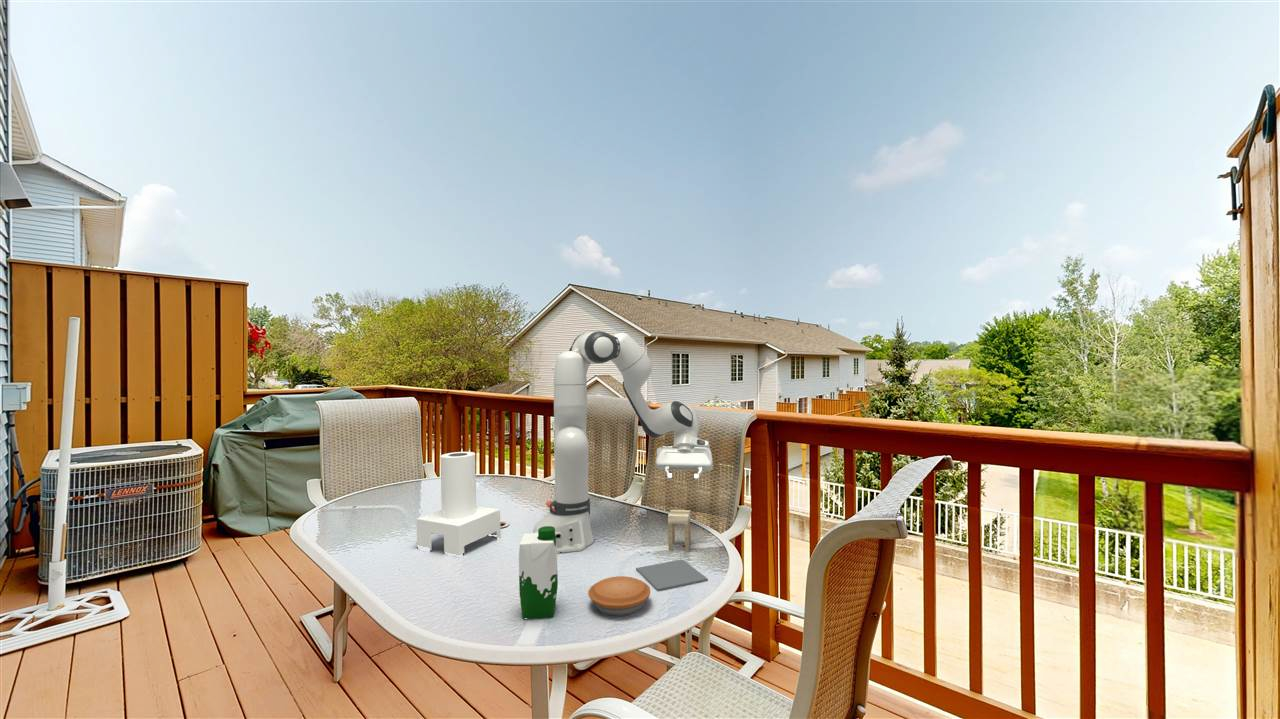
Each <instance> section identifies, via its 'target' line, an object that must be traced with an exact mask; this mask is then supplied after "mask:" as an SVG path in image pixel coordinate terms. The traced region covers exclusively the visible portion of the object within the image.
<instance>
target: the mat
mask: <svg viewBox="0 0 1280 719" xmlns="http://www.w3.org/2000/svg"><path fill="white" fill-rule="evenodd" d="M635 570H636V572H637V573H638V574H639V575H640V576H641V577H642V578H644V579H645V581H646V582H647V583H649V585H651V586H652V587H653V588H654V590H656V592H660V591H661V592H662V591H667V590H672V589H675V588H679V587H686V586H689V585H696V584H699V583H705V582H708V580H709V578H708V577H706V576H705V575H704V574H703V573H701V572H700V571H699V570H697V569H696V568H695V567H693V566H692V565H691V564H689V563H688V562H687V561H686V560H684V559H676V560H672V561H665V562H661V563H654V564H650V565H645V566H640V567H639V566H638V567H636V568H635Z"/></svg>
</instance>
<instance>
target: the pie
mask: <svg viewBox="0 0 1280 719" xmlns="http://www.w3.org/2000/svg"><path fill="white" fill-rule="evenodd" d="M587 596H588V597H589V599H590V600H591V601H592V602H593V604H594V606H595V607H596V609H597V610H598V611H599V612H601V613H602V614H604V615H607V616H613V617H621V616H628V615H632V614H635V613H636V612H638V611H640V610H641V608H642V607H643V605H644V604H645V603H646V600H647V599H648V598H649V597H650V596H651V587H650V585H648V584H647V583H646V582H644V581H643V580H641V579H638V578H635V577H632V576H625V575H624V576H622V575H620V576H617V575H616V576H612V577H611V576H610V577H607V578H604V579H601V580H599V581H597V582H595V583H594V584H593V585H591V587H590V588H588V591H587Z"/></svg>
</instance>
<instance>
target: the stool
mask: <svg viewBox="0 0 1280 719" xmlns="http://www.w3.org/2000/svg"><path fill="white" fill-rule="evenodd" d="M669 510H670V511H669V513H668V515H667V527H668V528H667V531H668V532H667V534H668V535H667V536H668V537H667V538H668V551H673V550H674V545H673V544H676V530H675V529H676V525H684V552H690V546H691V544H692V542H691V541H692V540H691V539H692V538H691V537H692V536H691V535H692V534H691V532H692V530H691V510H685V509H669Z"/></svg>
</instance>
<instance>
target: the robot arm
mask: <svg viewBox="0 0 1280 719" xmlns="http://www.w3.org/2000/svg"><path fill="white" fill-rule="evenodd" d="M609 361H611V362H612V363H613V364H614V365H615V366H616V368H617V369H618V371H619V373H620V374H621V376H622V379H623V381H622V384H621V385H622V389H623V392H624V394H625V395H626V398H627V400H628V402H629V403H630V405H631V407H632V409H633V410H634V412H635V414H636V417H637V418H638V419H639V422H640V425H641V428H642V430H643V432H644V433H645V434H646V435H648V437H650V438H653V439H657V438H659V437H662V436H663V435H665V434H667V433H670V432H672V431H673V432H674V433H675V434H674V438H673V445H661V446H659V447H658V448H657V449H656V459H655V466H656V468H657V470H660V471H664V472H665V474H666V478H667V481H672V480H673V474H672V473H670V471H689V472H690V471H693V472H695V471H697V473H694V477H693V478H694V482H699V481H700V477H701V475H703V473H704V472H711V471H712V470H713V469H714V463H713V462H714V461H713V453H712V450H711V448H710V446H711V445H710V442H709V441H708V440H705V439H702V438H699V437H698V434H699V430H700V421H699V420H700V419H699V414H698V412H697V410H696V409H695V408H693V407H691V406H688V405H687V406H686V405H685V404H683V403H682V402H680V401H677V400H674V401H672V402H669V403H666V404H664V405H662V406H660V407H657V408H655V409H652V408H650V407H649V405H648V402H647V401H646V399H645V398H644V396H643V394H642V390H641V389H642V387H643V386H644V385H645V383H646V382H647V381H648V379H649V378H650V376H651V375H652V374H651V373H652V369H653V368H652V367H653V366H652V362H651V360H650V358H649V356H648V355H647V354H646V352H645V351H644V350H643V348H642V347H641V346H640V345H639V344H638V342H637V341H636V340H635V339H634V338H632V336H630V334H628V333H626V332H622V331H621V332H617V333H614V334H613V335H612V334H609V333H607V332H605V331H599V330H597V331H593V330H592V331H586V332H583V333H581V334H579V335H578V336H576V338H575V339H574V340H573V342H572V344H571V346H570V347H569V350H567V351H562V352H561V353H559V354H558V356H557V357H556V360H555V365H554V372H553V427H554V428H553V429H554V430H553V431H554V440H553V443H554V444H553V448H554V449H553V452H554V453H553V454H554V456H553V457H554V492H555V493H554V494H555V495H554V497H555V498H554V500H553V501H551V500H550V499H549V500H546V502H545V505H546V507H547V508H549V512H548V513H547V514H546V515H545V516H543V518H542V519H540V520H539V521H538V522H536V523H535V525H534V528H533V530H532V533H536V532H538V529H539V528H541V527H545V526H552V527H554V528H555V532H556V546H557V554H560V552H562V553H571V551H572V552H582V551H583V550H585V549H586V548H587V547H589V546H590V545H592V544H593V543H594V541H595V537H594V533H593V530H592V526H591V519H590V518H591V517H590V516H591V501H590V499H591V498H589V438H588V437H587V421H588V420H587V418H588V414H587V413H588V391H587V390H588V384H587V383H588V379H587V374H588V369H589V367H590V366H591V365H595V364H598V365H599V364H604V363H607V362H609Z"/></svg>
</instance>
